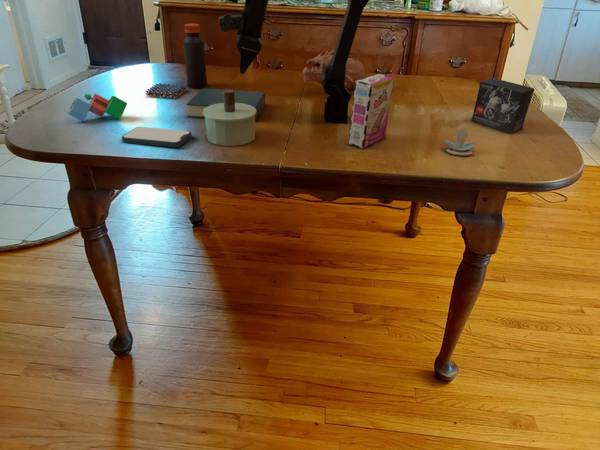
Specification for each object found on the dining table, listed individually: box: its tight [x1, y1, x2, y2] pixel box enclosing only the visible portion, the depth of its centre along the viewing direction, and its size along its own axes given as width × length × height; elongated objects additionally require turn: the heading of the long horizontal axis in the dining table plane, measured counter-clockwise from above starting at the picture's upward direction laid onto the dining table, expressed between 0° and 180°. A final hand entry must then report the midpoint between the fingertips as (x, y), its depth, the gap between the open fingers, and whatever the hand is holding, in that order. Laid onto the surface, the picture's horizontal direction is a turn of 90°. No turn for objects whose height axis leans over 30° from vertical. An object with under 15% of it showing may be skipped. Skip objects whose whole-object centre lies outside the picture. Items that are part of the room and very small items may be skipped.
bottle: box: [182, 23, 208, 90], centre depth 155 cm, size 7×7×20 cm
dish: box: [204, 116, 256, 147], centre depth 119 cm, size 13×13×6 cm
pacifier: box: [444, 126, 475, 157], centre depth 114 cm, size 7×6×6 cm
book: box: [185, 88, 266, 123], centre depth 137 cm, size 20×16×4 cm
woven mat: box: [144, 82, 187, 100], centre depth 151 cm, size 10×11×2 cm
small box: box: [471, 77, 535, 134], centre depth 131 cm, size 13×7×12 cm, turn 40°
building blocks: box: [67, 93, 128, 122], centre depth 127 cm, size 8×8×12 cm
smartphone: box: [121, 126, 193, 148], centre depth 117 cm, size 9×2×16 cm
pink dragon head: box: [302, 49, 366, 88], centre depth 155 cm, size 13×15×25 cm
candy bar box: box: [348, 73, 395, 150], centre depth 116 cm, size 11×5×16 cm, turn 141°
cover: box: [203, 89, 256, 122], centre depth 116 cm, size 14×14×6 cm
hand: (242, 69), depth 125 cm, fingers open, 9 cm apart
